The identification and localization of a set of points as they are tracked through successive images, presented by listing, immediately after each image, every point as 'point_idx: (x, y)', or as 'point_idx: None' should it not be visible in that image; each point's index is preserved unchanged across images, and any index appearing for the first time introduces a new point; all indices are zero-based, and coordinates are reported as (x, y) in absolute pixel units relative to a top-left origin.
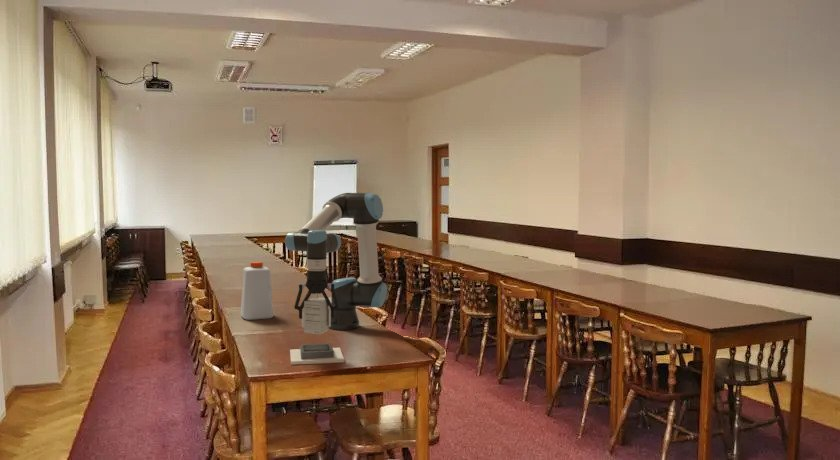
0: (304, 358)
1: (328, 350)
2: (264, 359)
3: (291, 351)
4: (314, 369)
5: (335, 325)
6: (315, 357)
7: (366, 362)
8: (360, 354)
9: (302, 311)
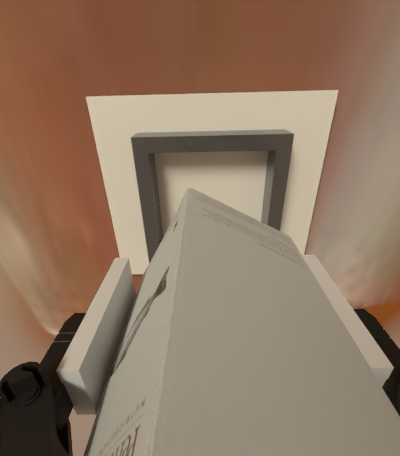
0: None
1: (268, 159)
2: (15, 196)
3: (100, 138)
4: None
5: None
6: None
7: (365, 275)
8: (393, 177)
9: (81, 408)
